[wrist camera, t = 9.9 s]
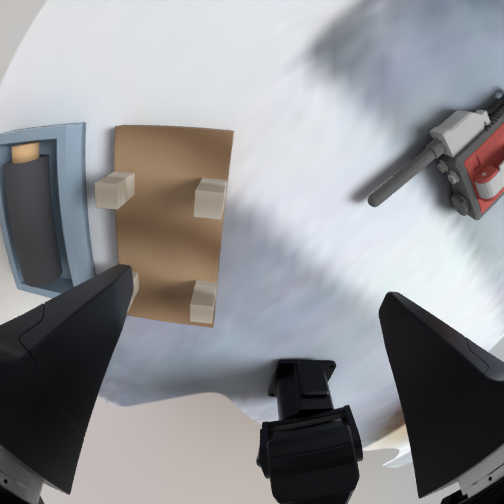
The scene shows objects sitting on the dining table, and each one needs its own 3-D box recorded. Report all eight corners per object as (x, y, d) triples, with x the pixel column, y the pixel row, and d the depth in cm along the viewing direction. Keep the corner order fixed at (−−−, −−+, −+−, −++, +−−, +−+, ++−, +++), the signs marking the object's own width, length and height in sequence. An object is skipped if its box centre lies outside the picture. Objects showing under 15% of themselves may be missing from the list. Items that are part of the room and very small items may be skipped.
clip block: (214, 318, 25) (210, 352, 22) (130, 306, 25) (115, 337, 21) (234, 130, 18) (230, 136, 14) (122, 125, 17) (94, 130, 14)
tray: (97, 287, 24) (85, 305, 21) (31, 273, 23) (17, 289, 20) (85, 122, 17) (65, 126, 14) (12, 130, 16) (-9, 136, 14)
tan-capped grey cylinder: (70, 266, 22) (47, 291, 18) (39, 259, 22) (16, 282, 18) (58, 138, 17) (24, 148, 13) (25, 141, 16) (-7, 151, 13)
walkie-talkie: (495, 71, 14) (355, 187, 20) (527, 73, 10) (379, 207, 16) (523, 146, 17) (402, 261, 23) (552, 157, 14) (425, 289, 20)
